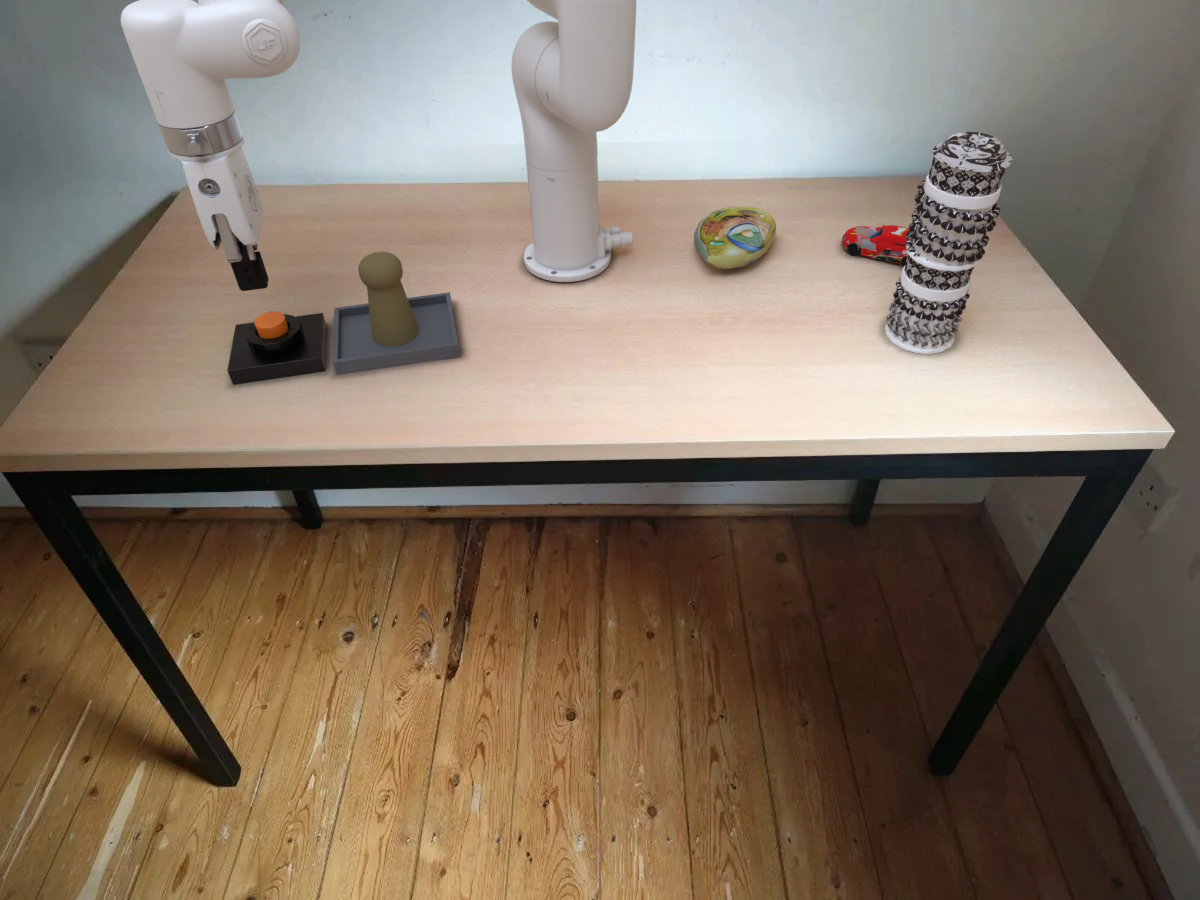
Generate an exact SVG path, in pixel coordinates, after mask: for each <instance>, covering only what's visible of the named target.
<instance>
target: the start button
mask: <svg viewBox="0 0 1200 900" xmlns="http://www.w3.org/2000/svg"><path fill="white" fill-rule="evenodd" d="M283 314H284V313H282V312H280V311H268V312H267V311H266V312H264V313H262V314H259V316H257V317H256V318H255V319H254V321H255V326H256V329H257V332H258V334H259V336H260V337H261V338H265V339H270V338H277V337H279V336H281V335H283V334H285V333H286V332H287V331H288V329H289V328H288V325H287V322H286V319H285V316H284V315H283Z"/></svg>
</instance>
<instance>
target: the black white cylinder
mask: <svg viewBox="0 0 1200 900" xmlns="http://www.w3.org/2000/svg"><path fill="white" fill-rule="evenodd" d="M932 154H933V158H932V161H931V166H930V168H929V172H928V174H927V175H926V177H925V179H924V180H923V179H922V180H921V181H920V184H921V185H920V184H918V185H917V190H918V191H917V194H916V195H915V196H914V199H913V200H914V202H915V205H914V210H913V212H912V213H911V219H912V220H911V223H910V224H909V225H908V228H909V230H910V231H911V232H910V233H909V240H907V241H906V249H907V254H908V256H907V260H906V264H905V266H903V267H902V270H901V274H900V276H899V277H898V280H896V282H895V286H896V290H895V291H894V292H893V293H892V297H893V300H892V302H891V303H890V304H889V306H888V307H889V308H888V309H889V312H888V313H887V315H886V320H887V323H886V324H885V326H884V330H885V336H886V337H887V339H889V341H890V342H891V343H892V344H893V345H895V346H896V347H898V348H900V349H902V350H905V351H908V352H911V353H914V354H922V355H923V354H924V355H933V354H939V353H943V352H945V351H947V350H948V349H950V348H951V347H952V345H953V344H954V342H955V340H956V339H955V337H956V334H955V333H958V332H959V330H960V329H959V326H960V323H961V322H962V321H963V317H961V316H962V315H963V313H964V310H966V309H967V305H966V304H967V300H968V299H969V298H970V296H971V295H970V293H969V289H970V286H971V284H972V277H971V276H972V274H973V272H974V268H975V267H976V266H978V265H979V263H980V262H981V260H982V258H983V256H984V255H985V254H986V250H985V249H984V247H986V246H987V245H988V243H989V241H990V237H989V235H987V233H988V232H992V231H993V230H994V229H995V227H996V226H997V222H996V221H995V220H994V219H996V218H998V217H999V215H1000V212H1001V207H999V206H998V203H996V202H998V200H999V197H1000V195H1001V191H1002V188H1003V185H1002V181H1003V178H1004V176H1005V175H1006V168H1008V167H1010V165H1011V164H1012V163H1013V158H1012V155H1011V153H1010V152H1008V151H1007V150H1006V147H1005V146H1004V143H1003V141H1002V140H1000V139H999V138H997V137H996V136H993V135H991V134H988V133H983V132H979V131H963V132H957V133H954V134H952V135H949V136H948V137H947V138H946V139H945V140H944V141H942V142H940V143H936V145H935V146H934V147H933V148H932Z"/></svg>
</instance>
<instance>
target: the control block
mask: <svg viewBox="0 0 1200 900" xmlns="http://www.w3.org/2000/svg"><path fill="white" fill-rule="evenodd" d="M282 314H283V315H284V316H285V319H286V322H287V325H288V328H289V329H288V331H287V332H286V333H285V334H283V335H281V336H279V337H277V338H270V339H265V338H261V337H260V336H259V334H258V332H257V329H256V326H255V320H254V321H252V322H245V323H238V324H235V325H234V331H233V337H232V344H231V349H230V355H229V360H228V365H227V371H226V372H227V374H228V376H229V379H230V381H231V383H232V385H233V386H235V385H241V384H249V383H255V382H263V381H269V380H276V379H283V378H290V377H297V376H305V375H309V374H317V373H325V372H326V363H327V362H326V359H327V335H328V332H327V331H328V325H327V322H326V318H325V315H324V313H323V312H319V313H312V314H304V315H296V316H295V315H294V314H293V315H292V314H287V313H282Z"/></svg>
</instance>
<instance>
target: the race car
mask: <svg viewBox="0 0 1200 900" xmlns="http://www.w3.org/2000/svg"><path fill="white" fill-rule="evenodd" d="M910 232H911V231H910V230H909V227H906V226H905V227H904V226H900V225H893V224H888V225H886V224H883V225H882V226H877V227H876V226H865V225H862V226H853V227H851V228H848V229H847V230H846V231H845V232H844V234H843V235H842V237H841V246H842V248H843V249H844V250H845V251H847V253H848V254H849V255H850V256H853V257H856V256H859V255H861V256H863V257H867V258H873V259H876V260H881V261H884V262H889V263H894V264H897V265H902V266H903V267H904V266H905V264H906V260H907V256H908V254H907V249H906V241H907V240H909V233H910Z"/></svg>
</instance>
